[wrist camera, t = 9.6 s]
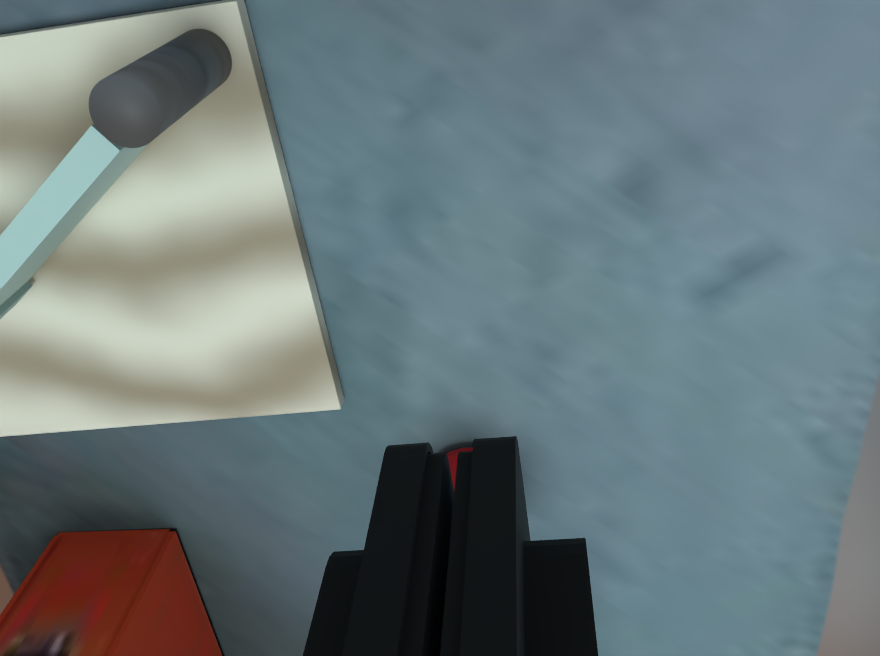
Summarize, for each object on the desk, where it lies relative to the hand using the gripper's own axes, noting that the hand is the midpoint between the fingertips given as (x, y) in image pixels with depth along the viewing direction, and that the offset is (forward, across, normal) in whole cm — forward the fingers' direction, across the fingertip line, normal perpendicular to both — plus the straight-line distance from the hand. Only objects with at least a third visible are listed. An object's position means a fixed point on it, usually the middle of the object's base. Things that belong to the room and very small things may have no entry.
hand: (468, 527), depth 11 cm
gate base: (+27, +20, +6) cm, 34 cm away
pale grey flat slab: (+26, +19, +3) cm, 32 cm away
